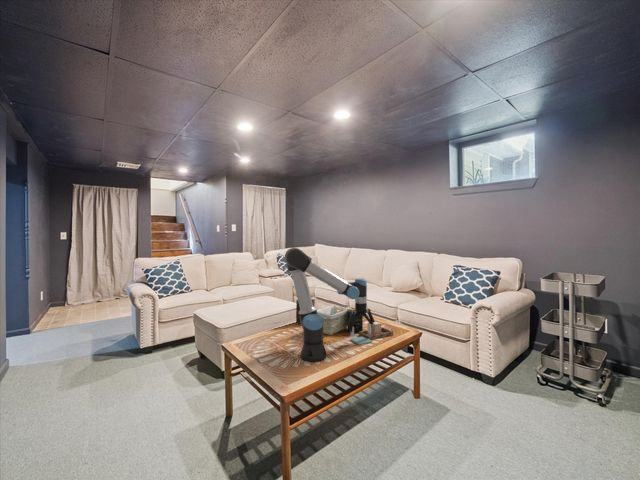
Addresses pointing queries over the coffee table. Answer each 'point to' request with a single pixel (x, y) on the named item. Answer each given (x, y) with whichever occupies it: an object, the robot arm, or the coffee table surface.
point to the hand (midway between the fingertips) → (361, 334)
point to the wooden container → (299, 310)
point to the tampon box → (358, 324)
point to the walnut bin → (383, 334)
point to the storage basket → (333, 319)
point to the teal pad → (361, 340)
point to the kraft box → (376, 328)
